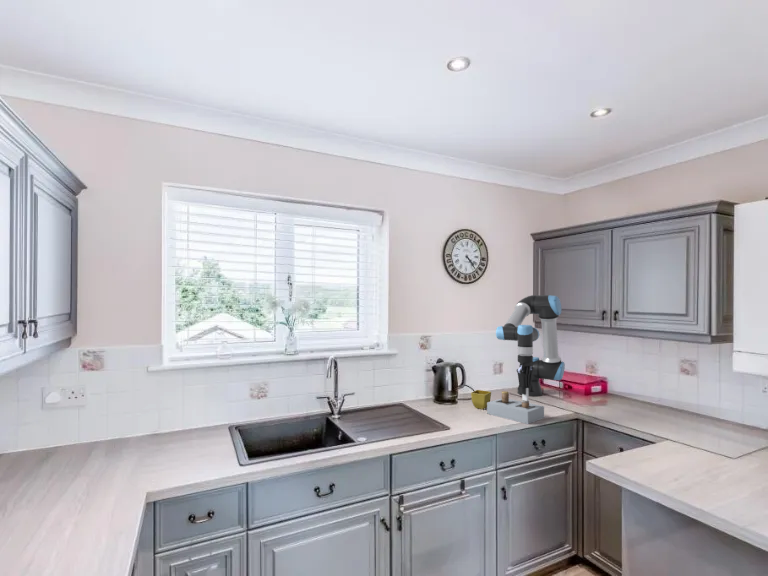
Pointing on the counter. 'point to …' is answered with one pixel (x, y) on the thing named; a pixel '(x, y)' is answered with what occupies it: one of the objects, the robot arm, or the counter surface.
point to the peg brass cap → (505, 397)
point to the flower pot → (480, 398)
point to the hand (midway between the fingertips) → (525, 400)
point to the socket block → (515, 411)
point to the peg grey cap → (525, 404)
